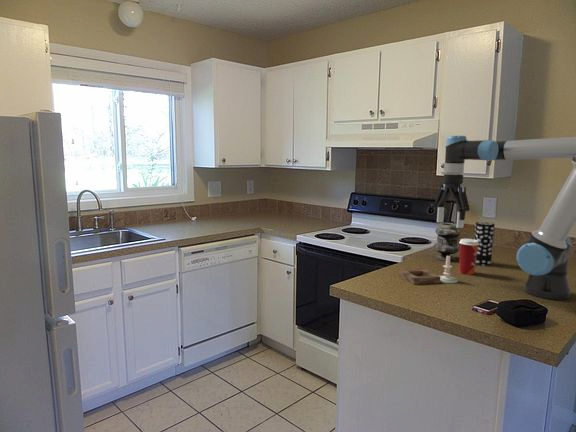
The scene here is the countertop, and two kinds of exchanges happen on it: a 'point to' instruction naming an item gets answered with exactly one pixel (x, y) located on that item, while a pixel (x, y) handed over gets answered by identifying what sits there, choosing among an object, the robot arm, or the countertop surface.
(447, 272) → the candle
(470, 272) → the coffee cup
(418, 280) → the holder
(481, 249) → the spotted tube
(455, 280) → the coaster
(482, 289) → the countertop surface
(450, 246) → the apothecary jar
